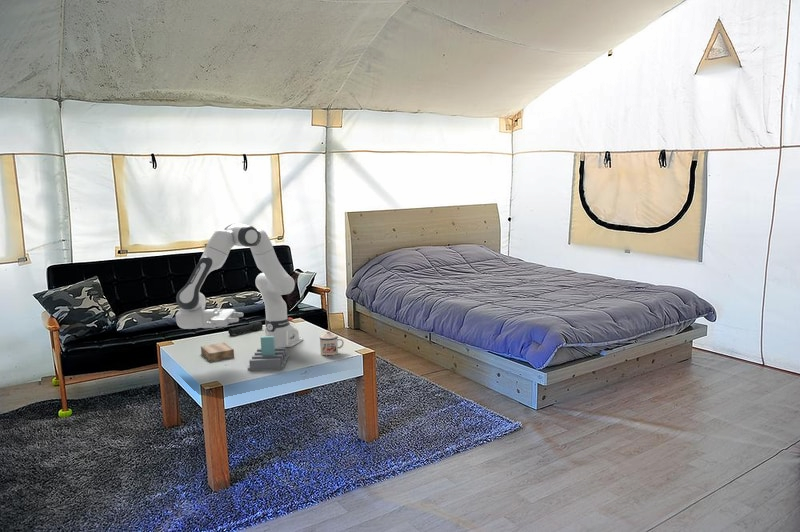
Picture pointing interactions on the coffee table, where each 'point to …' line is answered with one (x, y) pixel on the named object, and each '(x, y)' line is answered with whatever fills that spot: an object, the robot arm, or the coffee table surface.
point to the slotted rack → (268, 360)
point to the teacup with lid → (329, 344)
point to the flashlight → (246, 328)
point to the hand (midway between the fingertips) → (240, 317)
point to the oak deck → (217, 351)
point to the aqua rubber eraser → (267, 345)
